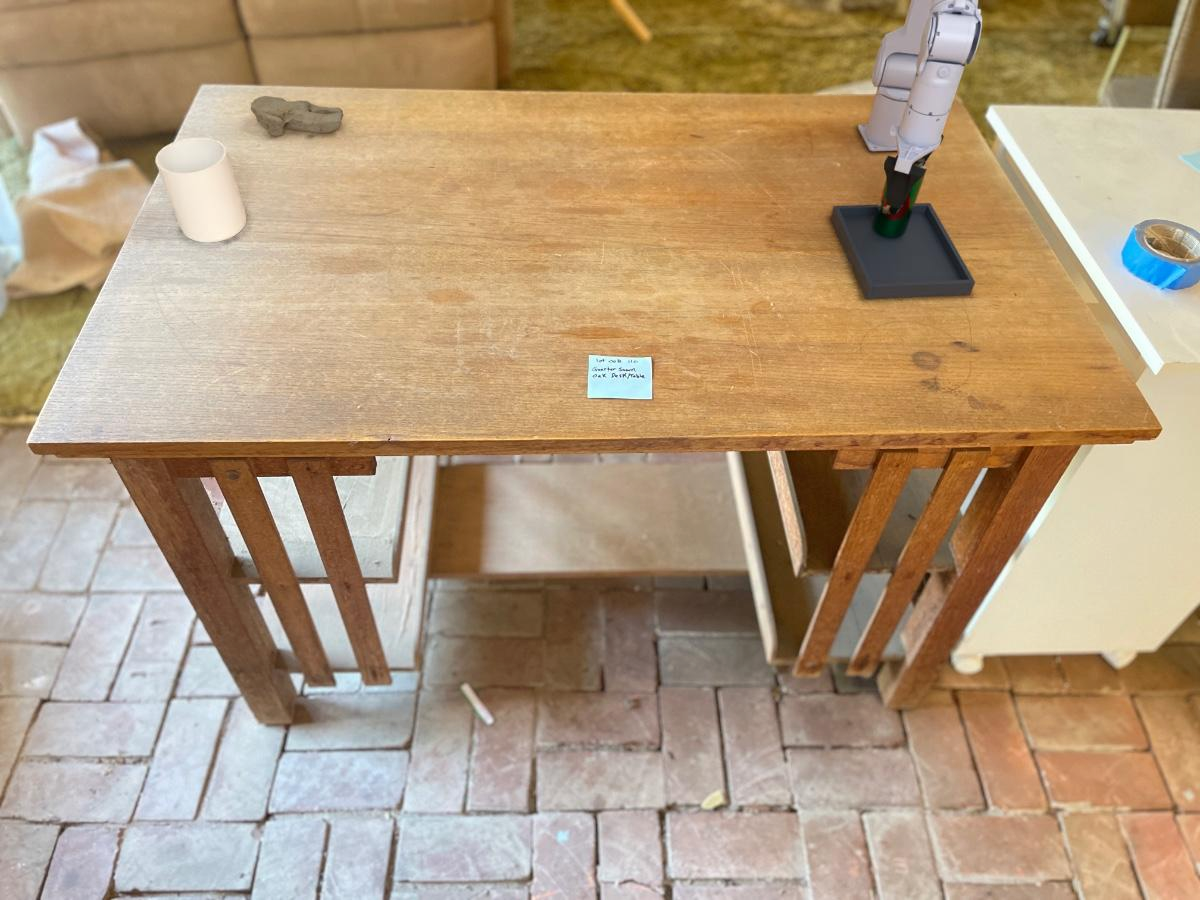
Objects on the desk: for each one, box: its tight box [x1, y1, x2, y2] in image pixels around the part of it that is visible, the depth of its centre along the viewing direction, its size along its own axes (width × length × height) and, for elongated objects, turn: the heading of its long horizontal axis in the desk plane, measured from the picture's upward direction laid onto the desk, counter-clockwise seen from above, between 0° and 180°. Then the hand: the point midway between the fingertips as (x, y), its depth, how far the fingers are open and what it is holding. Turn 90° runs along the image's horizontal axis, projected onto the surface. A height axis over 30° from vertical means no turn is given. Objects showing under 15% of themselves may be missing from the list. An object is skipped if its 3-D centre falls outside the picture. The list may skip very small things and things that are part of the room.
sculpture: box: [250, 95, 344, 137], centre depth 154 cm, size 7×5×15 cm
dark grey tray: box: [830, 202, 976, 300], centre depth 136 cm, size 15×19×2 cm
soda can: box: [873, 153, 927, 238], centre depth 135 cm, size 5×5×12 cm
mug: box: [154, 136, 247, 244], centre depth 133 cm, size 10×12×12 cm
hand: (900, 192), depth 134 cm, fingers open, 7 cm apart
